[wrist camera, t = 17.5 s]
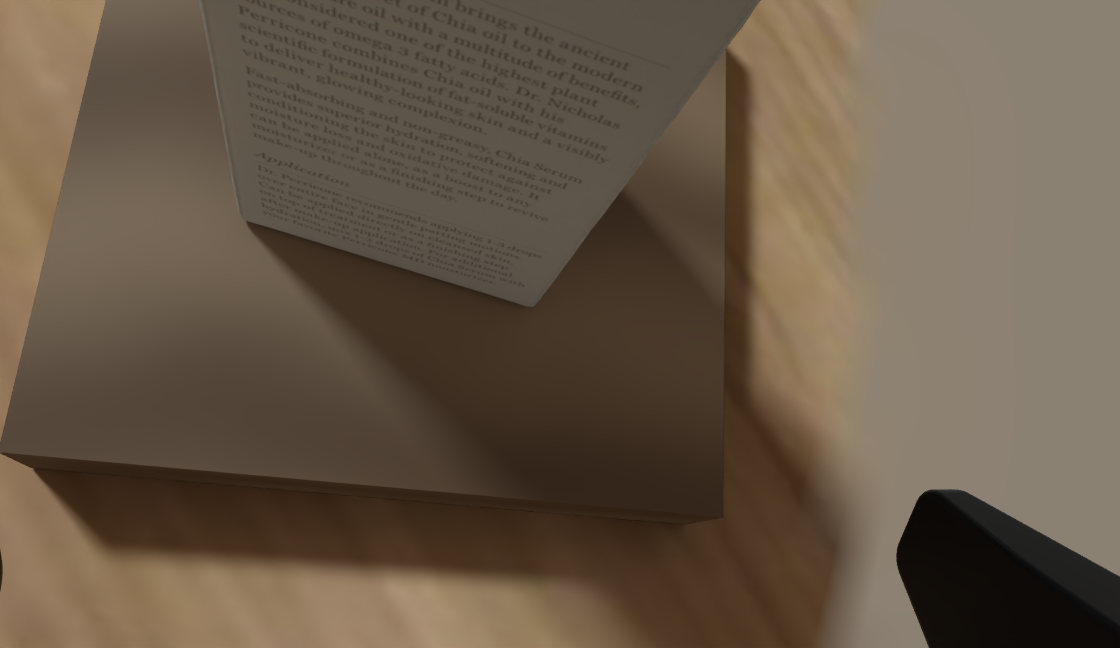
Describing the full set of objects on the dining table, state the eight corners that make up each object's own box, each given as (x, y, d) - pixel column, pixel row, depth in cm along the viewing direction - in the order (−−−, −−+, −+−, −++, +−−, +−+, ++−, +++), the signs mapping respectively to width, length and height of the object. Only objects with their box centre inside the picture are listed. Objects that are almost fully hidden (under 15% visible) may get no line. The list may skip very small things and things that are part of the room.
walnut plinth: (685, 524, 20) (722, 516, 18) (31, 467, 17) (-2, 452, 15) (694, 13, 24) (726, -36, 22) (160, -104, 21) (147, -171, 19)
